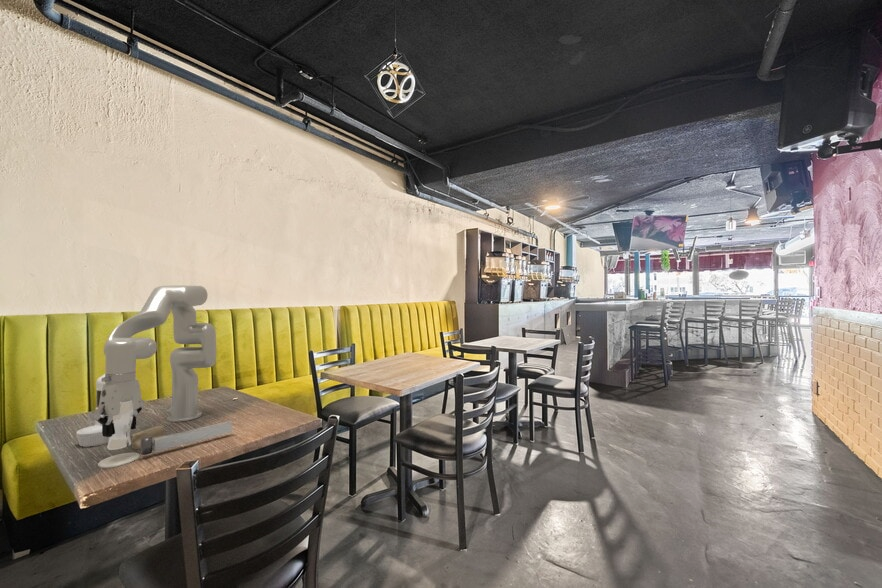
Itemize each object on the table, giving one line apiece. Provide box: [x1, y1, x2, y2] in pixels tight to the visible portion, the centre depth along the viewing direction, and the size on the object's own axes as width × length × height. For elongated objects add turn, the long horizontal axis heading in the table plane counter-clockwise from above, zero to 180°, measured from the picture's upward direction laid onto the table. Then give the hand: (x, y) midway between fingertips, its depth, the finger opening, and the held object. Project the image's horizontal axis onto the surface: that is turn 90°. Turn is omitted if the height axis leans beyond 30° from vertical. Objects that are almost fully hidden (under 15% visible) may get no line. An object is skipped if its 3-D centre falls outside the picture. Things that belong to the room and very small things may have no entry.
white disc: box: [97, 452, 140, 469], centre depth 119 cm, size 10×10×1 cm
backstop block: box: [131, 425, 165, 450], centre depth 133 cm, size 3×9×5 cm, turn 167°
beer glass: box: [106, 400, 134, 451], centre depth 119 cm, size 7×7×15 cm
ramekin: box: [75, 424, 109, 448], centre depth 134 cm, size 11×11×5 cm
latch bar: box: [140, 420, 233, 456], centre depth 131 cm, size 3×28×5 cm, turn 140°
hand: (119, 432), depth 119 cm, fingers closed on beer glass, 6 cm apart
